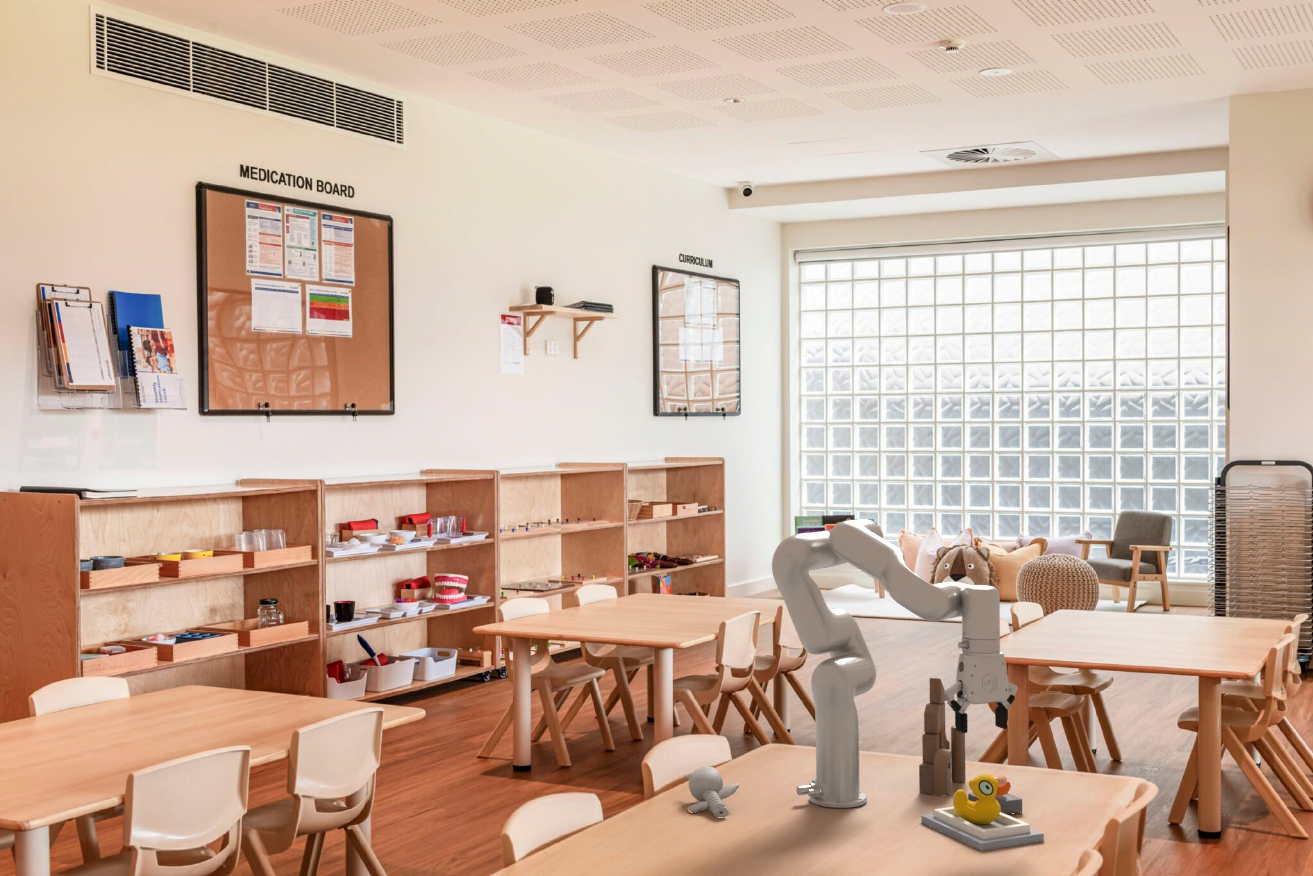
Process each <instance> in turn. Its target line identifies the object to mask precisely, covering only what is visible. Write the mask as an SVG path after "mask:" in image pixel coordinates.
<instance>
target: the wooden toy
mask: <svg viewBox="0 0 1313 876" xmlns="http://www.w3.org/2000/svg"><path fill="white" fill-rule="evenodd" d="M944 691H946V689H945V687H944V684H943V681H942V680H941V678H938V677H930V678H929V702H927V703H926V704H925V708H924V712H923V719H924V720H923V725H924V726H923V731H924V733H923V734H922V735H921V736H922V738H921V739H922V763H919V765H918V770H919V771H918V772H919V773H918V775H919V776H918V777H919V780H918V781H919V783H918V784H919V786H918V788H919V793H920V794H923V793H924V794H925V795H931V794H933V795H934V794H936V796H941V795H946V796H945V797H948V796H949V795H951V794H952V782H953V783H955V782H956V784H963V783H965V782H966V733H962V732H959V731H957V730H956V726H955V725H952V726H950V741H949V740H948V739H947V734H946V703H945V702H947V700H946V698H945V695H944ZM950 793H951V794H950Z"/></svg>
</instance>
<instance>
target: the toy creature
mask: <svg viewBox="0 0 1313 876" xmlns="http://www.w3.org/2000/svg"><path fill="white" fill-rule="evenodd" d="M683 778H685V779H688V789H689V792H690V794H691V795H692V797H693V798H695V800H697V801H698V802H697V803H694V804H691V805H689V807H688V808H687V810H689V811H691V812H698V813H700V812H702V811H704V810H705V811H706V810H707V809H710V812H711V813H712V814H713V813H714V814H713V817H715V818H717V817H725V818H726V817H727V816H728V814H729V809H728V807H727V806H726V804H725V803H724V801H723V800H724V799H727V798H729V797H731V796H732V795H735V793H736V792H737V790H738V789H739V788H740V784H739V783H730V784H728V785H725V786H724V780H723V776H722V774H721V773H720V771H719V770H718V769H716V767H713V766H702V767H699V768H697V769H695V770H694V771H693V772H692V773H687V774H684V775H683ZM699 811H700V812H699Z"/></svg>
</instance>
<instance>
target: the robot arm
mask: <svg viewBox="0 0 1313 876" xmlns="http://www.w3.org/2000/svg"><path fill="white" fill-rule="evenodd" d="M905 558H906V556H905V553H904V551H903V550H902V549H901V548H900V547H898V546H896V545H894V544H893V543H891V542H889V540H886V539H885V538H884V534H883V530H882V529H881V527H880V526H879V525H878V524H877V523H875V522H874V521H872V520H870V519H865V518H863V519H862V518H859V519H850V520H849V519H848V520H842V521H841V522H838V523H837V524H836V525H834V526H833V528H830V529H827V530H822V531H813V532H801V533H797V534H796V533H795V534H793V535H790V536H788V537H786V538H785V539H784V540H782V541H781V542H780V543H779V544H778V545H777V547H776V549H775V551H774V552H773V555H772V560H771V561H772V562H771V571H772V576H773V580H774V582H775V584H776V585H775V586H776V587H777V589H778V591H779V593H780V594H781V596H782V599H783V601H784V603H785V607H786V609H787V612H788V614H789V617H790V618H791V622H792V625H793V626H794V628H795V632H796V633H797V637H798V639H799V641H800V643H801V645H802V647H803V648H804V649H805V651H807V652H808V653H809V654H810V655H815V656H816V655H825V654H828V653H829V655H830V658H827V659H824V660H823V661H821V662H820V663H819V664H817V665H816V667H815V668H814V669H813V672H812V675H811V679H810V686H811V691H812V692H811V693H812V697H813V702H814V703H813V704H814V712H815V762H816V763H815V765H816V766H815V771H816V774H815V775H816V776H815V777H816V778H813V779H811V783H809V784H808V785H799V786H797V787H796V794H797V795H798V796H805V795H807V796H808V797H809V801H810V802H811V803H813V804H814V805H818V806H820V807H825V808H826V807H827V808H835V809H843V808H844V809H849V808H855V807H860V806H863V805H865V804H866V803H867V801H868V798H867V794H865V793H864V791H863V792H862V791H860V790H861V789H860V785H861V784H860V721H859V714H858V710H857V707H856V703H855V697H857V696H860V695H863V694H866V693H867V692H869V691H870V690H871V689H872V688H873V687H874V685H875V684H876V679H877V670H876V669H877V668H876V665H875V662H874V659H873V657H872V655H871V652H870V650H869V648H868V646H867V645H868V644H867V642H866V640H865V637H864V636H863V633H862V631H861V629H860V627H859V625H858V623H857V621H856V619H855V618H854V617H853V616H852V614H850V613H849V612H848V611H846V610H844V609H842V608H834V607H833V608H829V607H828V605H827V603H826V601H825V598H824V596H823V593H822V592H821V589H820V588H819V586H818V584H817V583H816V581H815V580H814V579H813V578H812V577H811V576H810V574H809V572H810V571H814V570H820V569H827V568H831V567H835V566H840V565H842V564H846V563H849V564H850V565H851V566H853V567H855V568H856V569H858V570H860V571H861V572H862V573H865V574H866V575H867V576H869V577H870V578H872V579H873V580H875V581H877V582H878V583H880V585H881V586H882V588H883V590H885V592H886V593H887V594H888V595H889V596H890V598H892V600H894V601H895V602H896V603H897V604H899V605H900V606H902V608H905V609H906V610H907V611H909V612H910V613H912V614H914V615H915V616H917V617H919V618H920V619H923V620H926V621H929V622H934V623H936V622H942V621H944V620H945V621H946V620H948V619H955V618H961V641H959V642H958V643H957V647H958V649H961V652H959V656H958V659H957V668H956V680H955V683H954V684H953V685H951V686H950V687H949V688H946V689H945V691H944V695H945V698H946V702H947V704H948V706H949V707H950V708H951V709H952V711H953V712H954V726H956V730H957V731H959V732H962V733H965V734H967V733H968V729H969V728H968V713H966V711H967V710H968V708H969V706H970V705H984V704H996V705H997V706H995V707H994V708H995V709H994V710H995V711H994V712H995V713H994V715H995V716H994V718H995V719H994V720H995V723H994V724H995V727H997V728H1000V729H1003V730H1007V729H1008V722H1009V716H1008V713H1009V712H1008V711H1009V710H1010V709H1011V705H1012V704H1013V702H1014V701H1015V698H1016V695H1017V692H1018V690H1019V686H1018V685H1016V684H1014V683H1013V682H1011V681H1009V676H1008V669H1007V662H1006V658H1005V654H1004V652H1002V651H1001V638H1000V637H1001V625H1000V624H1001V615H1000V613H1001V610H1000V605H1001V604H1000V602H1001V601H1000V600H1001V597H1000V592H999V590H998V588H997V587H995V586H992V585H983V584H975V585H974V584H973V585H972V584H966V583H962V582H959V581H946V582H940V583H934V584H933V583H931V582H929V581H927V580H925V579H924V578H922V577H920V576H919V575H917V574H916V573H914V572H913V570H911V569H909V567H907V565H906V564H905ZM955 695H956V698H957V699H955Z"/></svg>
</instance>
